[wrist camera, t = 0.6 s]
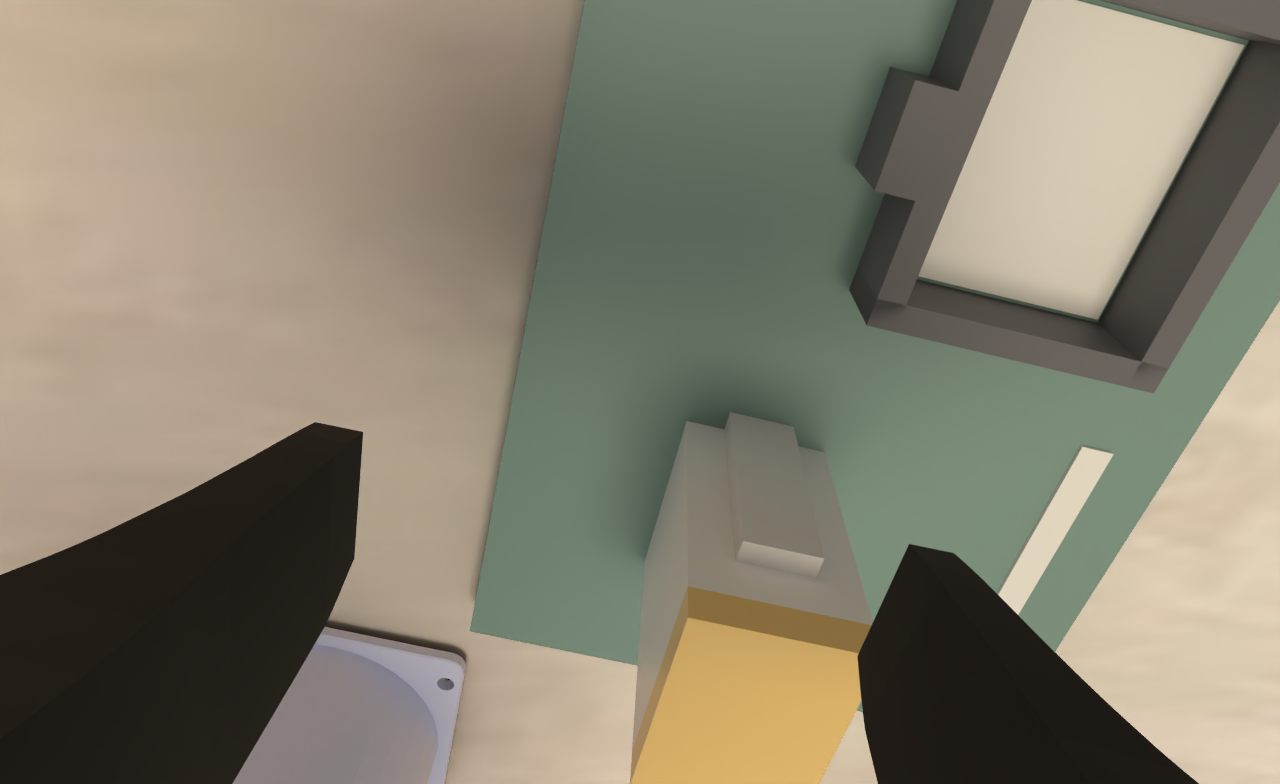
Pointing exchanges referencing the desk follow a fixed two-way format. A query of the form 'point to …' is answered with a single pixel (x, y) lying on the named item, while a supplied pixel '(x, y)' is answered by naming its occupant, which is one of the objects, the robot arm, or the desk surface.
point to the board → (887, 281)
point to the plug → (747, 614)
